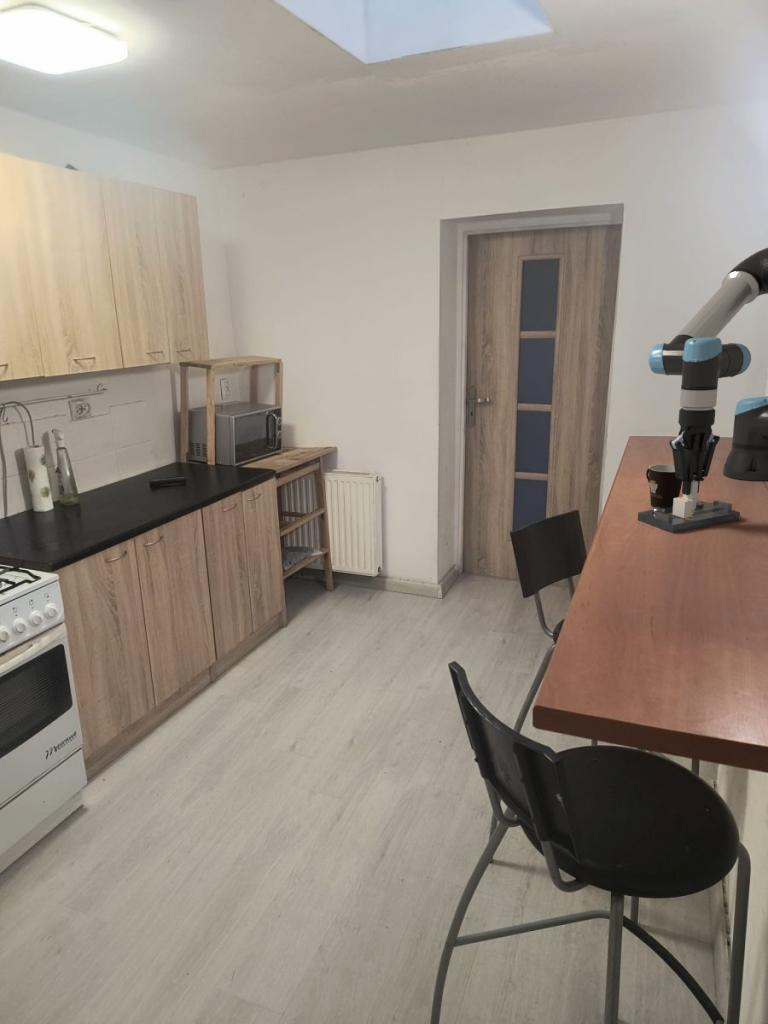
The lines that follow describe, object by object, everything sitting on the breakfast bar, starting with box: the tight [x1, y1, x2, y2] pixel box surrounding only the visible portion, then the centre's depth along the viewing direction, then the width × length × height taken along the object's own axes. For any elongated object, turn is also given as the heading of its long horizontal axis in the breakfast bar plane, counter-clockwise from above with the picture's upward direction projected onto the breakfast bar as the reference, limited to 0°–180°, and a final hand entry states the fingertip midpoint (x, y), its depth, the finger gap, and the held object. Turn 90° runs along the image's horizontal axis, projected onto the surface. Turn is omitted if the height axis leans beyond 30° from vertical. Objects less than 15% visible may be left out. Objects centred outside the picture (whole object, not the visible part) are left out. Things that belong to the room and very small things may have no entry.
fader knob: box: [673, 496, 693, 518], centre depth 158 cm, size 2×4×4 cm, turn 20°
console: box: [637, 499, 741, 534], centre depth 161 cm, size 20×12×4 cm, turn 110°
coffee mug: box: [645, 463, 683, 508], centre depth 174 cm, size 12×9×10 cm
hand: (689, 507), depth 158 cm, fingers closed
